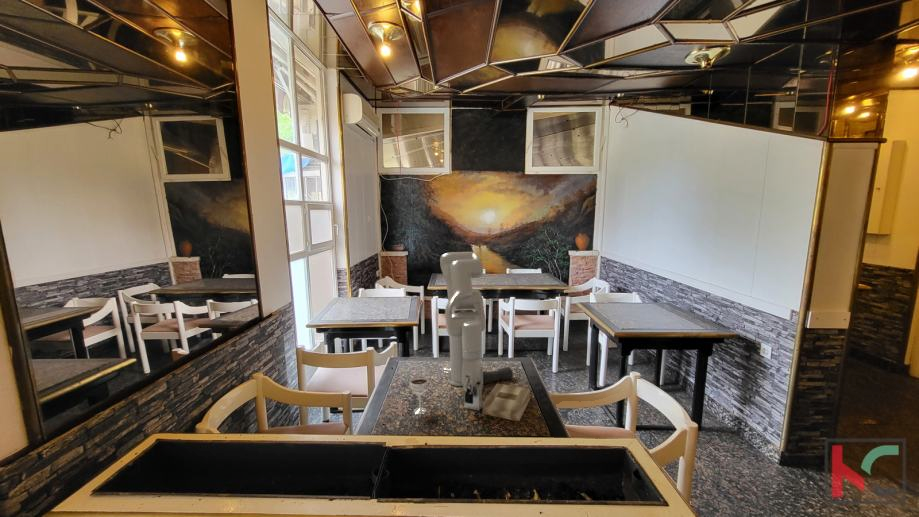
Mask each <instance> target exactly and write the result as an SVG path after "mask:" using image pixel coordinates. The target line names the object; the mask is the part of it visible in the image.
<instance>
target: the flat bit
mask: <svg viewBox="0 0 919 517" xmlns="http://www.w3.org/2000/svg"><path fill="white" fill-rule="evenodd" d="M468 384H469V385H471V383H468ZM468 388H469V389H470V387H469V386H468ZM482 392H483V390H481V385H480V384H475V385H474V386H473V390H472V393H473V404H470V403H465V393H464V392H463V394H464V396H463V397H464V398H463V399H464V409H468V410H469V409H470V410H473V411H476V412H477V411H478V412H480V410H481V409H482V408H483V407H482V403H483V400H482V398H483V395H482Z"/></svg>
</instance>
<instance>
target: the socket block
mask: <svg viewBox="0 0 919 517" xmlns="http://www.w3.org/2000/svg"><path fill="white" fill-rule="evenodd" d="M530 400H531V389H530V388H526V387H520V386H514V385H509V384H508V385H507V384H503V383H496V384H495V385H494V387H493V388H492V389H491V391H490V392H489V394H488V395H487V396H486V398H485V399H484V401H482V407H481V408H482V415H487V416H491V417H495V418H496V417H497V418H502V419H506V420H511V421H515V422H520V421H521V418H522V416H523V414H524V412H525V410H526V409H527V406H528V404H529V402H530Z"/></svg>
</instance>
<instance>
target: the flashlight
mask: <svg viewBox="0 0 919 517" xmlns="http://www.w3.org/2000/svg"><path fill="white" fill-rule="evenodd" d="M513 378H514V370H513V368H512V367H511V366H507V367H506V366H505V367H502V368H498V369H497V370H492V371H491V370H490V371H485V370H484V371H483V385H487V384H490V383H492V382H495V381H505V380H508V381H509V380H512V379H513Z"/></svg>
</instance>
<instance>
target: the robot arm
mask: <svg viewBox="0 0 919 517" xmlns="http://www.w3.org/2000/svg"><path fill="white" fill-rule="evenodd" d="M439 263H440V265H439V266H440V270H441V272H442V275H443V277H444V280H445V282H446V289H447V300H448V301H447V304H446V306H445V310H444V317H445V327H446V328H445V329H446V332H447V334H448V335H449V362H450V363H449V364H450V368H443V371H442V372H443V373H442V374H443V375H445V376H446V375H447V380H446V381H447V383H448V384H450V385H452V386H454V387H455V386H456V387H462V389H463V394H464V393H465V401H464V404H465V403H470V404H473V393H472V390H473V386H474V385H475V384H479V383H481V379H480V378H481V376H482V368H483V367H482V359H483V341H482V340H483V339H482V338H483V337H482V336H483V335H482V334H483V332H484V331H486V327H487V324H486V323H487V322H486V313H485V306H484V300H483V294H482V292H481V291H480V290H479V289H477V288H476V289H475V288H473V283H472V279H479V278H482V277H483V276H484V267H483V263H482V260H481V259H480V257H479V256H478V255H477V253H476V252H474V251H456V252H455V251H451V252H446V253H443V254H441V256H440V258H439ZM467 310H471V311H467ZM453 311H464V312H455V313H454V312H453ZM468 383H471V385H469V384H468ZM480 385H481V384H480ZM468 386H469V387H470V389H469V388H468Z"/></svg>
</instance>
